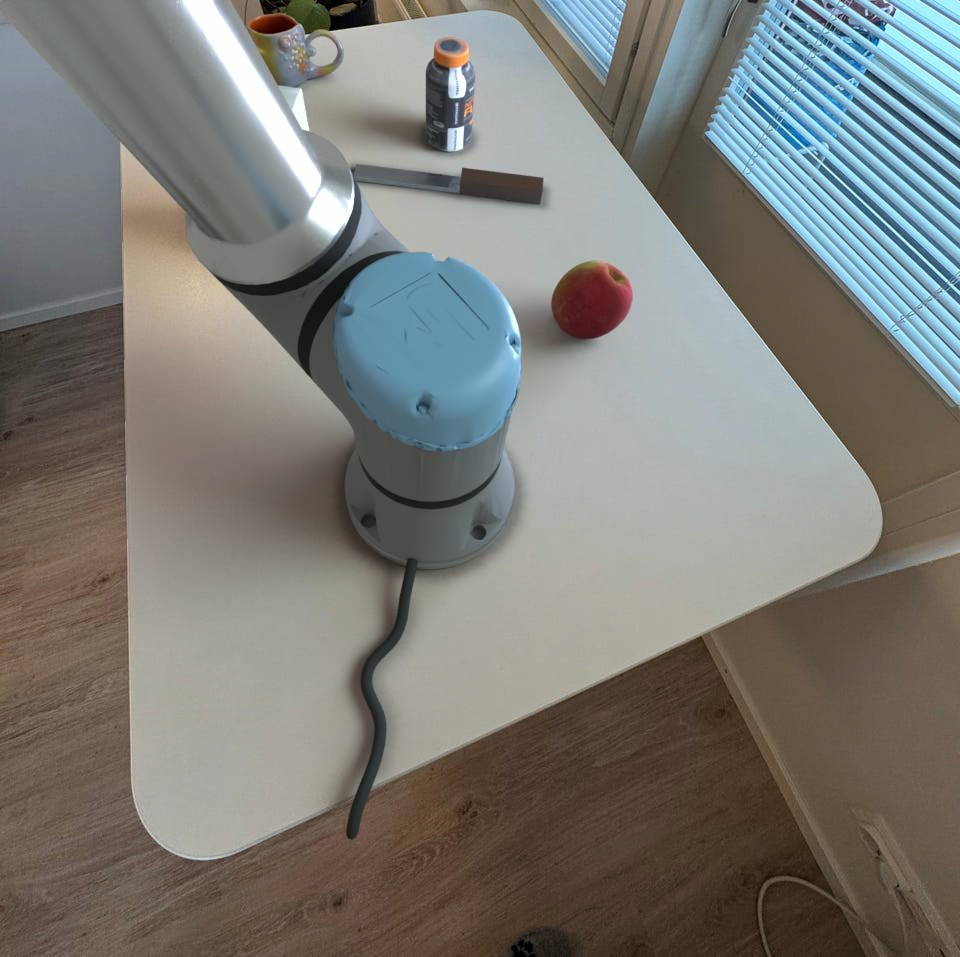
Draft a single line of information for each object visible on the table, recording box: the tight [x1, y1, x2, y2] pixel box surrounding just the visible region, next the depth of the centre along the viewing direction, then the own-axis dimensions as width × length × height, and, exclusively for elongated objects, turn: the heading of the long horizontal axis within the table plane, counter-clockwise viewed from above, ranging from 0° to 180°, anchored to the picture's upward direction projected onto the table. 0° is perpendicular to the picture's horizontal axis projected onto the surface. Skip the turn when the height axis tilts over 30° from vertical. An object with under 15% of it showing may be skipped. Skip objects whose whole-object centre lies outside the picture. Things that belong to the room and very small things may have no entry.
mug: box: [245, 12, 345, 88], centre depth 83 cm, size 12×7×7 cm, turn 92°
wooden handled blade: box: [353, 163, 544, 205], centre depth 77 cm, size 23×3×2 cm, turn 85°
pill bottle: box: [425, 36, 476, 152], centre depth 77 cm, size 6×6×11 cm
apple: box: [550, 260, 634, 340], centre depth 65 cm, size 8×8×8 cm
